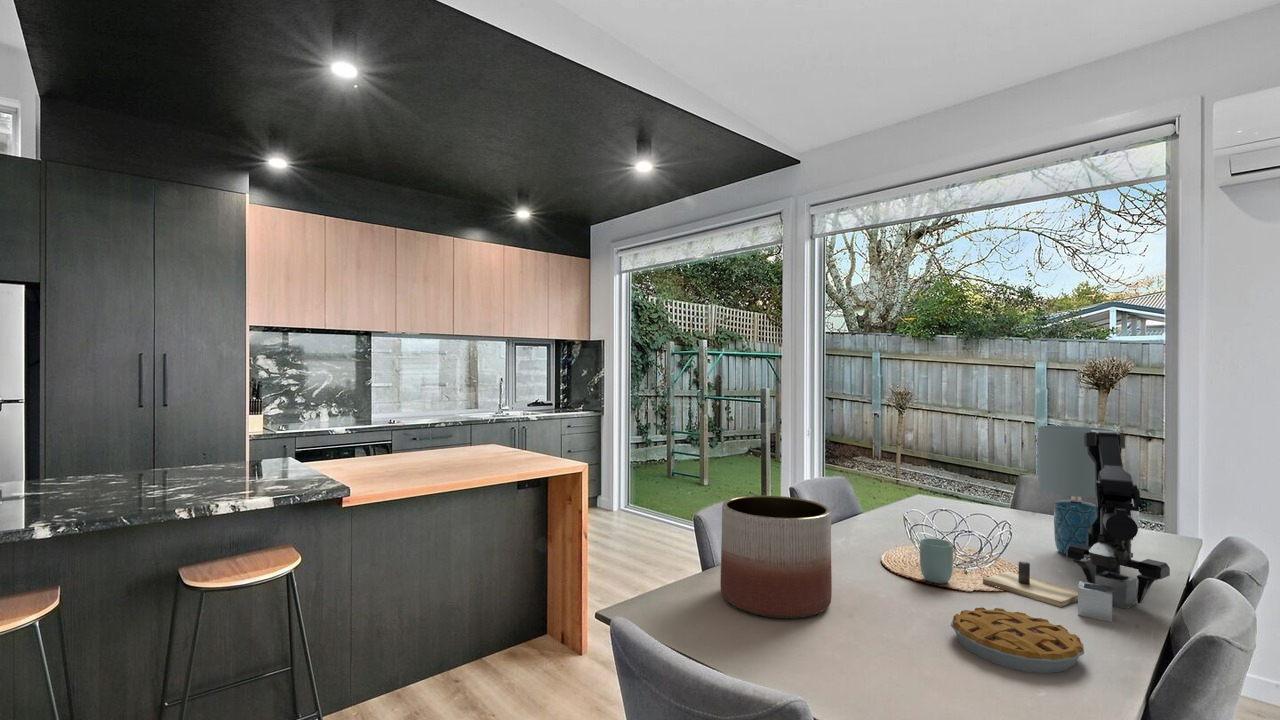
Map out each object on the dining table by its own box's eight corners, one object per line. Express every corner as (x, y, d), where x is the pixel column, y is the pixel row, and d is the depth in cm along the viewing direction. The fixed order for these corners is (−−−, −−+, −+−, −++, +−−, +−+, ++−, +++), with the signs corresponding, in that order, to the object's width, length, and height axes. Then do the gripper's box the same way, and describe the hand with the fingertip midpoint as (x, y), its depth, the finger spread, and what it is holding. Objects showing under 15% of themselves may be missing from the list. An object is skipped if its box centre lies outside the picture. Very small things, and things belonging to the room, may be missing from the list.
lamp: (1096, 548, 188) (1096, 426, 189) (1131, 567, 169) (1131, 432, 170) (1027, 543, 192) (1027, 424, 193) (1054, 561, 174) (1054, 430, 174)
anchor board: (1008, 575, 161) (1008, 552, 161) (1085, 597, 146) (1085, 571, 146) (982, 583, 155) (982, 558, 155) (1061, 607, 140) (1061, 580, 140)
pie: (1033, 688, 103) (1033, 659, 104) (927, 636, 124) (927, 612, 124) (1110, 665, 112) (1110, 638, 112) (999, 620, 132) (999, 597, 132)
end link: (1106, 595, 147) (1106, 570, 147) (1136, 603, 142) (1136, 578, 142) (1095, 600, 144) (1095, 574, 144) (1125, 608, 139) (1125, 582, 139)
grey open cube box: (1079, 607, 140) (1079, 580, 140) (1112, 613, 136) (1112, 587, 136) (1078, 615, 135) (1077, 588, 135) (1112, 622, 131) (1111, 594, 131)
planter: (837, 591, 148) (838, 501, 148) (822, 631, 125) (823, 524, 125) (737, 575, 159) (737, 491, 159) (706, 609, 136) (706, 511, 136)
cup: (957, 587, 152) (957, 547, 152) (924, 584, 153) (924, 545, 153) (948, 577, 159) (948, 539, 160) (916, 574, 161) (916, 537, 161)
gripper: (1055, 526, 147) (1055, 590, 147) (1150, 545, 131) (1150, 617, 131) (1077, 520, 153) (1077, 582, 153) (1170, 538, 137) (1170, 607, 137)
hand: (1115, 596), depth 143 cm, fingers open, 9 cm apart
